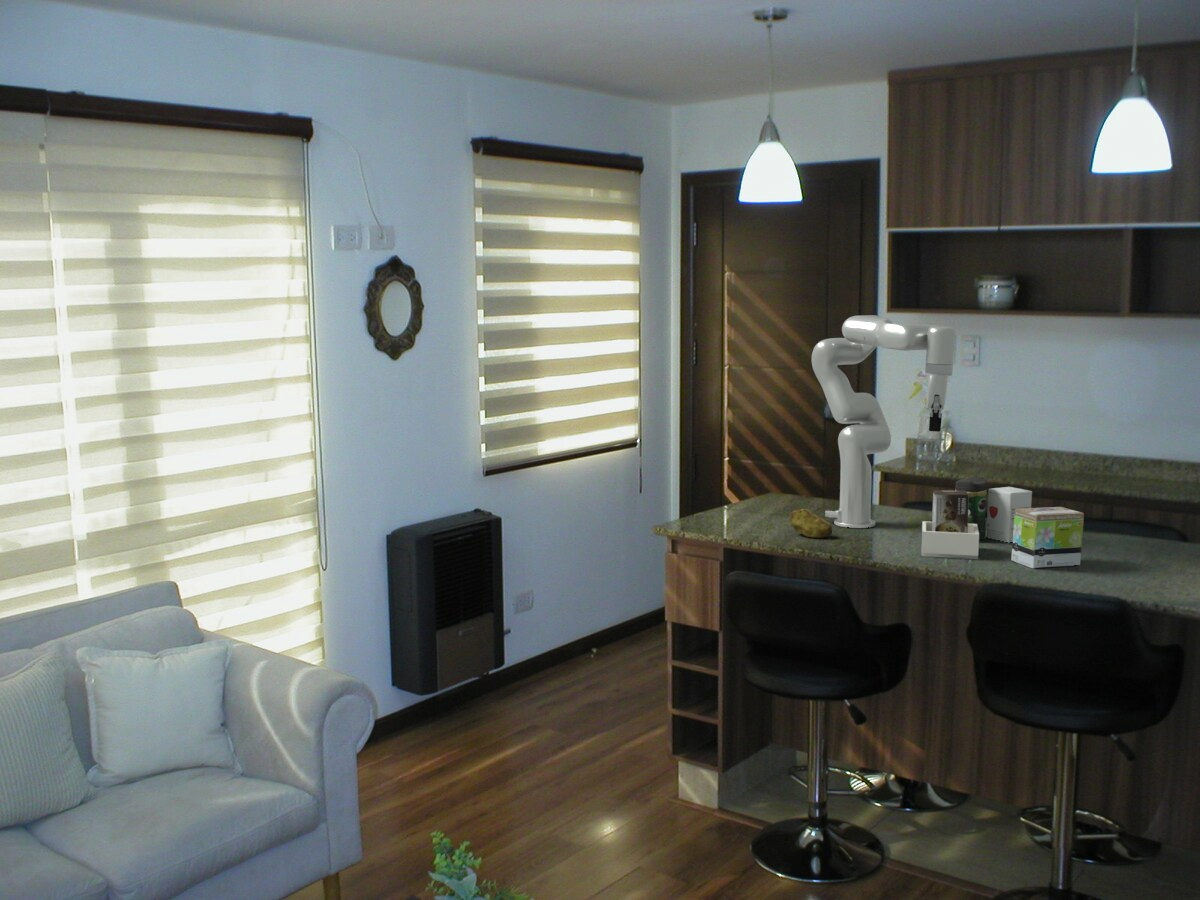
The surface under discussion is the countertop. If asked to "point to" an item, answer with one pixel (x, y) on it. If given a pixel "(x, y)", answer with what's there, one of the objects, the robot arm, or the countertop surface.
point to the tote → (950, 543)
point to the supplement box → (1005, 511)
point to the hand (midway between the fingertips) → (934, 428)
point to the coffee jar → (975, 501)
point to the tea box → (1047, 537)
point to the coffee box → (950, 511)
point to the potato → (810, 524)
